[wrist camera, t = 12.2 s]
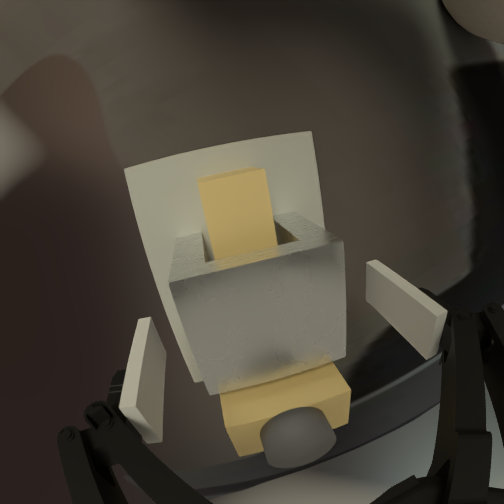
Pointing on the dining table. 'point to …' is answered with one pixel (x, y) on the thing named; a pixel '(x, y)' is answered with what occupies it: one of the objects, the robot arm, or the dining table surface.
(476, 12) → the vase
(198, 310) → the grey slotted block
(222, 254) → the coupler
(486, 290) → the dining table surface
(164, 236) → the mat
